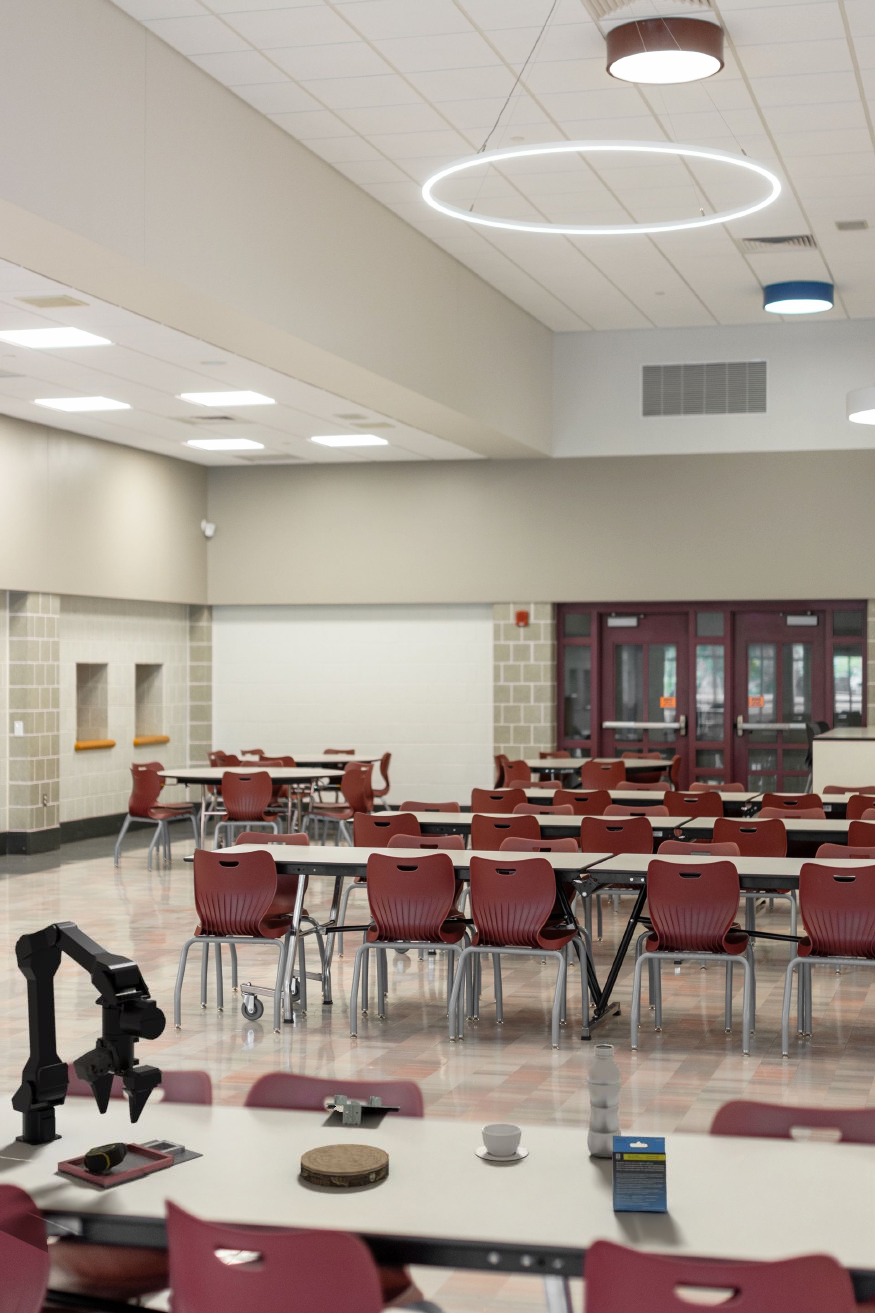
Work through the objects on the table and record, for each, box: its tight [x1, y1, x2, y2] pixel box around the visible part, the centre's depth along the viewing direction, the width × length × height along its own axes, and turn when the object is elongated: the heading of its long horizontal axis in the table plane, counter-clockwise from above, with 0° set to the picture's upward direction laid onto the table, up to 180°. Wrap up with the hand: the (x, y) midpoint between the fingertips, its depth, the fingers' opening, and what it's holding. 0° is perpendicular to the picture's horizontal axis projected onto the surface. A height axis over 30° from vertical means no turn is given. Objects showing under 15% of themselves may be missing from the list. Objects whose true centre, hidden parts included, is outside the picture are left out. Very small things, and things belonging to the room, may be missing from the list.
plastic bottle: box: [586, 1044, 622, 1158], centre depth 271 cm, size 6×7×20 cm
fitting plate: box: [57, 1139, 204, 1190], centre depth 267 cm, size 14×22×2 cm, turn 139°
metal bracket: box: [325, 1094, 401, 1125], centre depth 296 cm, size 14×6×15 cm
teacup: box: [474, 1123, 529, 1162], centre depth 272 cm, size 10×10×5 cm
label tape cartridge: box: [611, 1135, 668, 1213], centre depth 243 cm, size 9×4×12 cm, turn 83°
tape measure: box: [84, 1142, 127, 1172], centre depth 262 cm, size 7×7×4 cm
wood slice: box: [300, 1143, 390, 1189], centre depth 262 cm, size 16×16×3 cm
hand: (118, 1118), depth 265 cm, fingers open, 9 cm apart
